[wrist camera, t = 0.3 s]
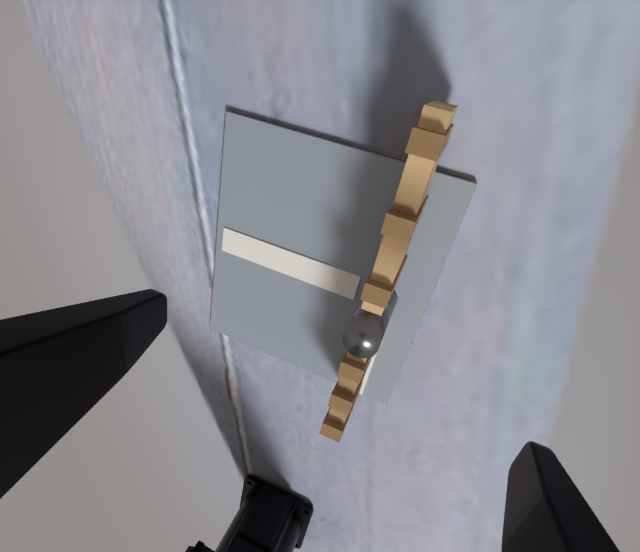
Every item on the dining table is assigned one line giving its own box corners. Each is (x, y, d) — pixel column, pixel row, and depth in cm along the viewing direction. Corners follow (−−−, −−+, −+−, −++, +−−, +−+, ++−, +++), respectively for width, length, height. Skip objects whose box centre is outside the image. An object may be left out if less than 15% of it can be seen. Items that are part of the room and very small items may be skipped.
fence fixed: (357, 396, 26) (337, 447, 22) (340, 389, 26) (318, 438, 23) (385, 319, 23) (366, 364, 19) (365, 312, 23) (343, 355, 19)
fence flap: (398, 281, 22) (380, 322, 18) (377, 274, 22) (356, 312, 18) (460, 106, 17) (453, 113, 13) (432, 99, 17) (419, 104, 14)
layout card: (387, 400, 26) (386, 405, 26) (212, 326, 29) (209, 329, 29) (477, 182, 19) (477, 184, 18) (229, 111, 22) (224, 111, 21)
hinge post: (393, 312, 23) (373, 363, 19) (364, 301, 24) (338, 349, 19) (402, 287, 22) (383, 335, 18) (372, 276, 23) (346, 320, 19)
